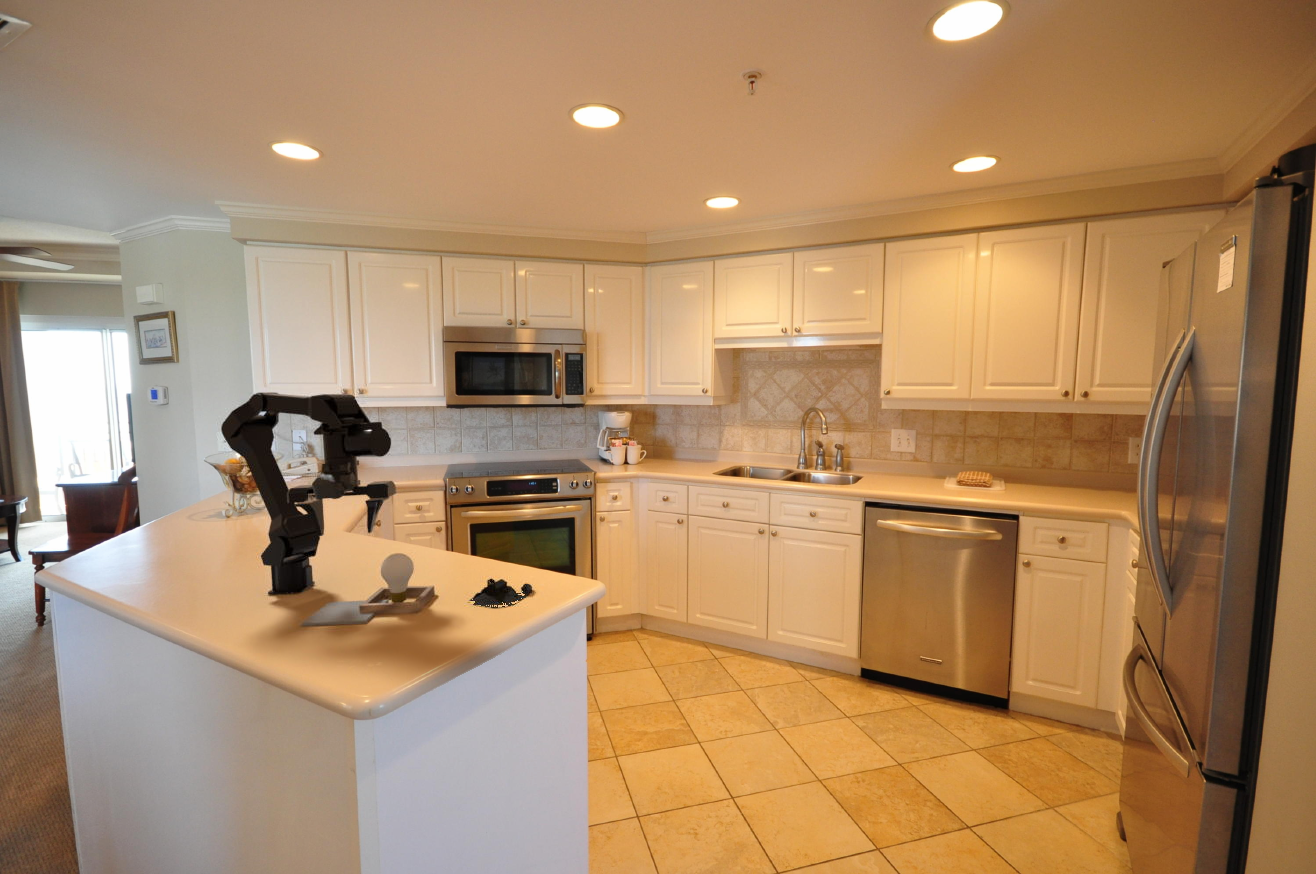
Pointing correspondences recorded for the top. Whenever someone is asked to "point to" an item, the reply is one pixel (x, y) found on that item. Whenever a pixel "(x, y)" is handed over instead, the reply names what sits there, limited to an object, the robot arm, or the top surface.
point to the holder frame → (398, 607)
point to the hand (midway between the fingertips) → (345, 534)
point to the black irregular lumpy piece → (499, 594)
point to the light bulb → (397, 575)
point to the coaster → (340, 614)
